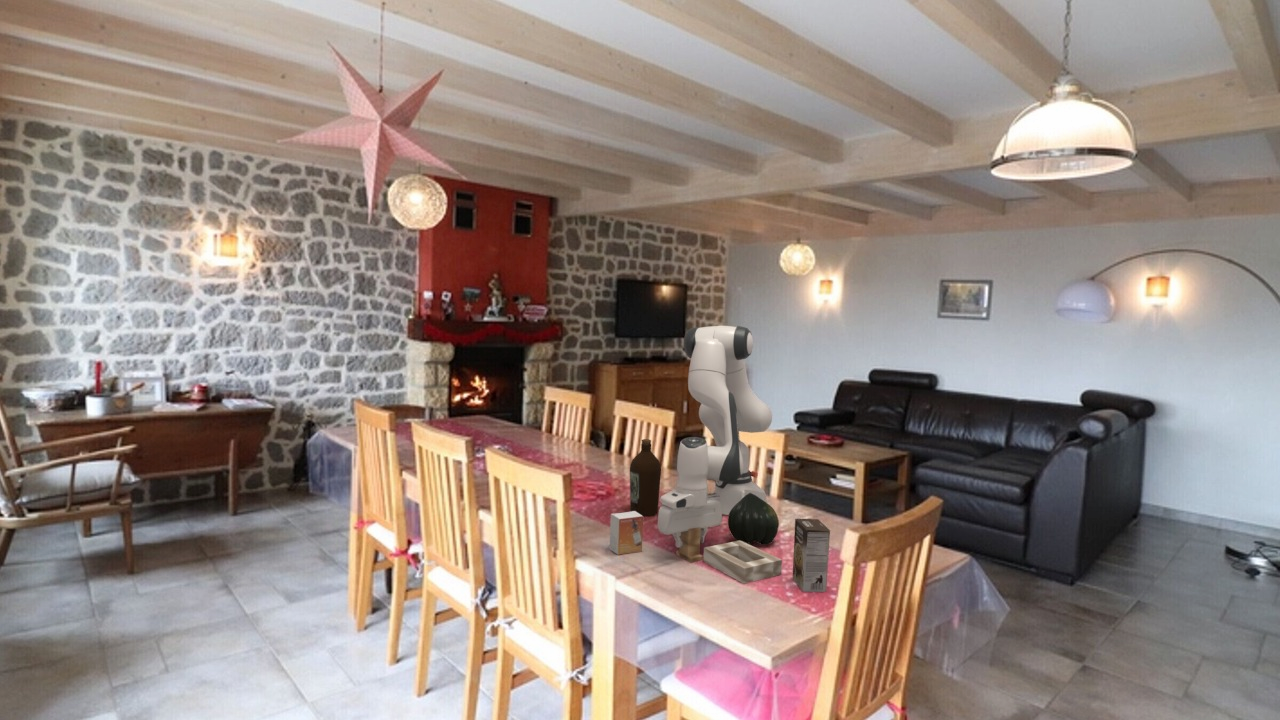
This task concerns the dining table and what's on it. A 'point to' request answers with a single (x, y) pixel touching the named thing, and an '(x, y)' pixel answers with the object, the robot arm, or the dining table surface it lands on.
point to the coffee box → (811, 555)
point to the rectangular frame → (742, 561)
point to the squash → (753, 521)
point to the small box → (626, 532)
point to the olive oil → (645, 481)
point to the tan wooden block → (690, 545)
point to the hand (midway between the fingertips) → (689, 544)
